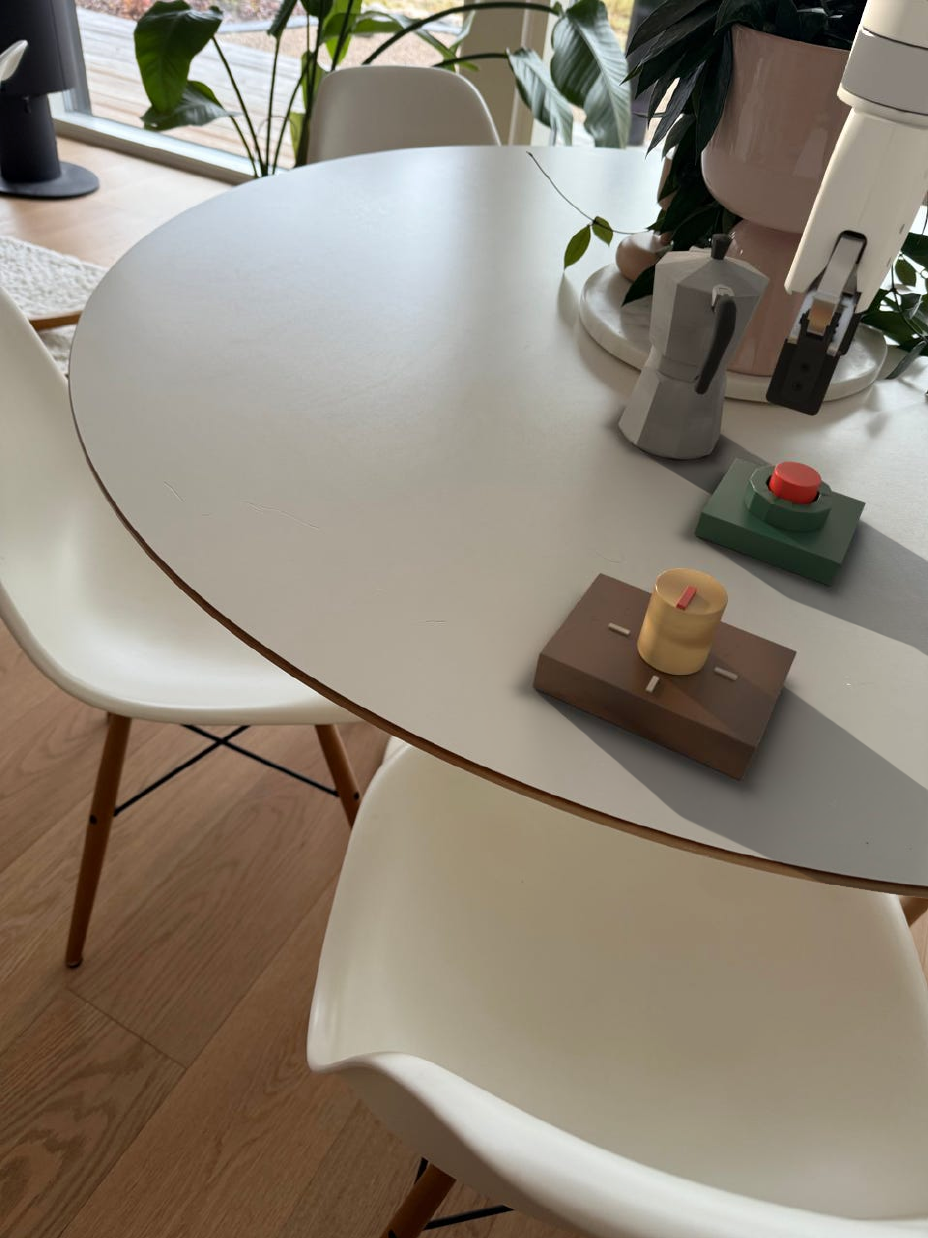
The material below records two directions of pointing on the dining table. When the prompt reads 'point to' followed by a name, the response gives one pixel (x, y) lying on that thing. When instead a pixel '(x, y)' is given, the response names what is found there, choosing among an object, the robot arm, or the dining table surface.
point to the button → (795, 482)
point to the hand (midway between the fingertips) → (807, 376)
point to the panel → (664, 679)
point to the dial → (681, 621)
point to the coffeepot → (691, 349)
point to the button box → (780, 523)
